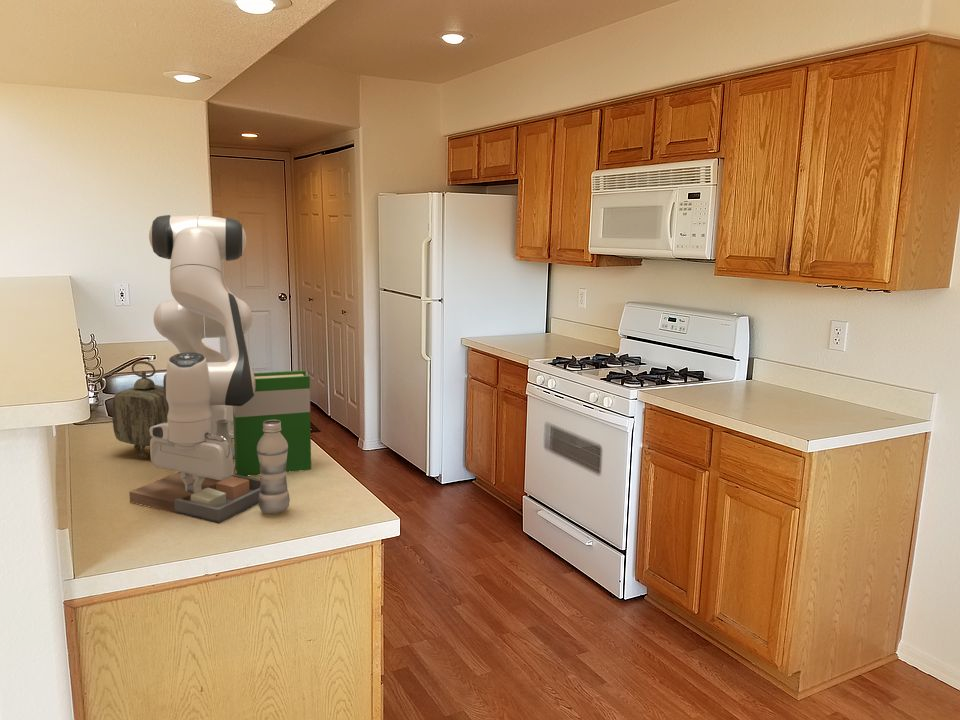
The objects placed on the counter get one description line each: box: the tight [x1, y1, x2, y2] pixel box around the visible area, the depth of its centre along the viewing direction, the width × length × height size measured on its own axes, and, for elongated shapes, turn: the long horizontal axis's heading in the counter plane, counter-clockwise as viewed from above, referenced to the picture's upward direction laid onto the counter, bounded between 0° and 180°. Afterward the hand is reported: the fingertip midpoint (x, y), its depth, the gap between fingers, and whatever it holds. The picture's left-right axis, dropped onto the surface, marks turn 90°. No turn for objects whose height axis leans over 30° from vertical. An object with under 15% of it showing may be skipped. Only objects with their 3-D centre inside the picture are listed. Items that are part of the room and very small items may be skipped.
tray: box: [174, 473, 261, 525], centre depth 161 cm, size 18×12×3 cm, turn 157°
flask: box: [215, 419, 235, 459], centre depth 191 cm, size 7×7×10 cm
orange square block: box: [216, 476, 250, 500], centre depth 165 cm, size 5×5×3 cm
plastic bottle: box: [257, 420, 291, 515], centre depth 155 cm, size 6×7×20 cm
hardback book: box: [233, 370, 312, 477], centre depth 182 cm, size 18×7×24 cm, turn 112°
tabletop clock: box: [111, 360, 169, 459], centre depth 189 cm, size 14×9×25 cm, turn 75°
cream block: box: [191, 487, 226, 507], centre depth 156 cm, size 5×5×3 cm
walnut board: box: [129, 471, 222, 514], centre depth 166 cm, size 18×13×2 cm
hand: (193, 492), depth 158 cm, fingers closed
